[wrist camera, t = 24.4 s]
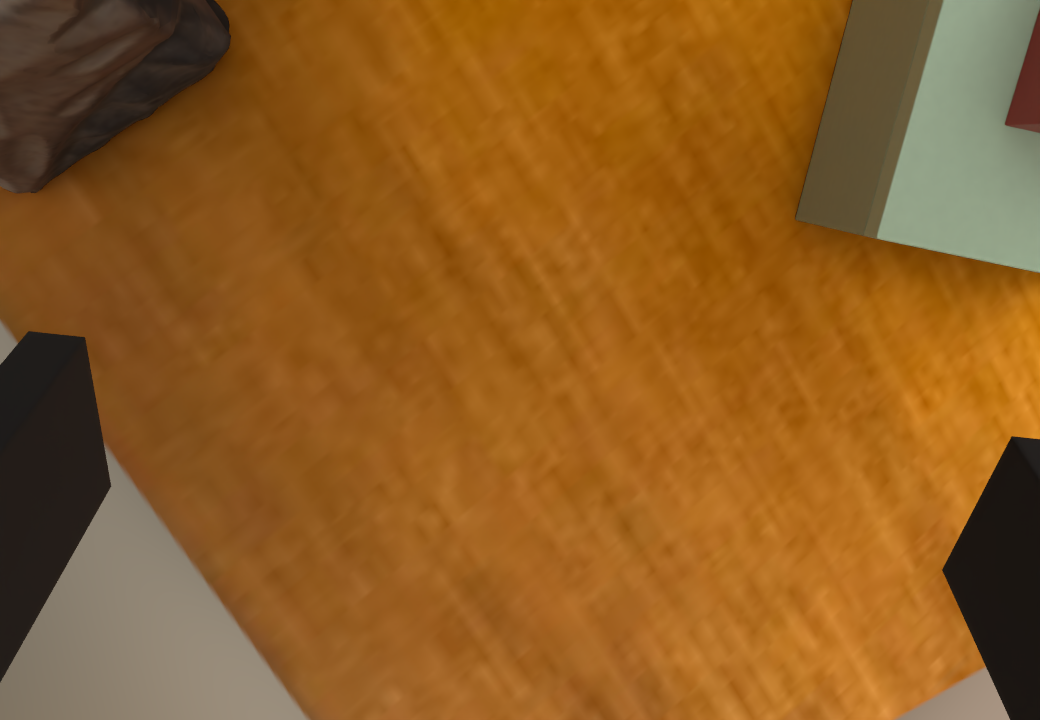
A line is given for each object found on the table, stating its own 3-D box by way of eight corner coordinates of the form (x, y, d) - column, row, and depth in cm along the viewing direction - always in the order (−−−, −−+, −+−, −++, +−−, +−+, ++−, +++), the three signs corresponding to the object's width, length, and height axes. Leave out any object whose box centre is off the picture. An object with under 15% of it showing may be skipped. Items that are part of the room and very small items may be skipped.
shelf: (891, -147, 41) (1007, -225, 32) (1164, -78, 42) (1347, -135, 34) (794, 219, 44) (876, 238, 36) (1051, 273, 46) (1190, 304, 37)
